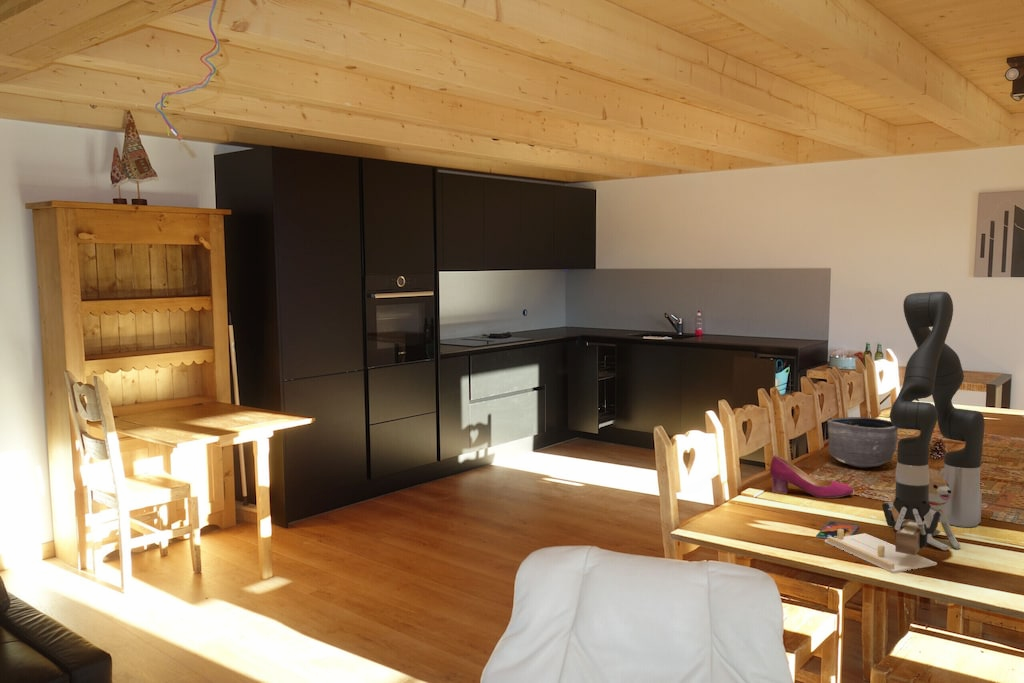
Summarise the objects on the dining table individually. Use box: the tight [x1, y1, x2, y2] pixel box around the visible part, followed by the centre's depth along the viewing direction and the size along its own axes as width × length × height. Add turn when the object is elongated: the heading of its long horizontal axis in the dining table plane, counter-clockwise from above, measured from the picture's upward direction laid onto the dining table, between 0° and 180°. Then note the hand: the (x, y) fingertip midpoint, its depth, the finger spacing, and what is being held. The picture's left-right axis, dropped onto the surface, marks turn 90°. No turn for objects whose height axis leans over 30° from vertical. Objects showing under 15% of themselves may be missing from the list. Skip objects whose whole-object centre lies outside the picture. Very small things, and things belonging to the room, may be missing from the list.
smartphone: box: [815, 520, 859, 540], centre depth 228 cm, size 8×1×15 cm
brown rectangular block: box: [895, 521, 922, 555], centre depth 204 cm, size 11×4×5 cm, turn 140°
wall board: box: [824, 529, 938, 574], centre depth 211 cm, size 14×24×3 cm, turn 20°
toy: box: [892, 467, 961, 551], centre depth 222 cm, size 10×24×20 cm, turn 16°
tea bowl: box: [826, 416, 899, 469], centre depth 300 cm, size 25×22×17 cm
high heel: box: [769, 454, 854, 499], centre depth 265 cm, size 26×9×12 cm, turn 66°
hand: (910, 545), depth 204 cm, fingers closed on brown rectangular block, 4 cm apart
